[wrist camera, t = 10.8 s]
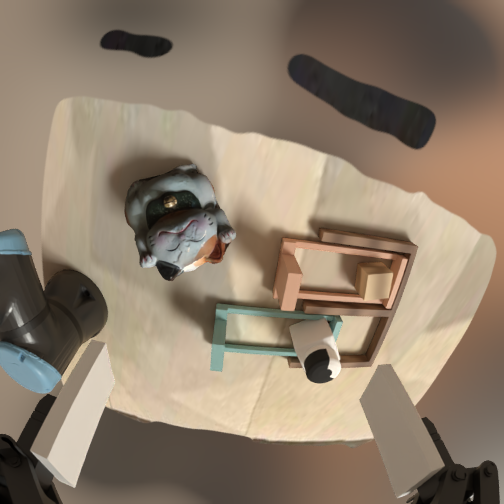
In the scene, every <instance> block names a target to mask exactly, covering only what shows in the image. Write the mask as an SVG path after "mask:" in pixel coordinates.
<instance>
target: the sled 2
mask: <svg viewBox="0 0 504 504" xmlns="http://www.w3.org/2000/svg"><path fill="white" fill-rule="evenodd" d="M295 248H304V249H312V250H321V251H329V252H337V253H345V254H353V255H361V256H369V257H377V258H385V259H393V261H392V265H391V268H390V270H391V271H392V272H393V277H392V283H391V288H390V293H389V298H385V299H377V300H368V301H364V300H363V299H362V297H361V296H360V295H356V294H342V293H328V292H316V291H304V290H299V289H300V284H301V280H302V275H303V274H302V272H301V269H300V267H299V265H298V263H297V261H296V259H295V256H294V253H295ZM407 260H408V259H407V258H406V257H404V256H403V255H402V254H400V253H395V252H388V251H381V250H373V249H366V248H359V247H351V246H344V245H336V244H329V243H321V242H313V241H305V240H297V239H289V238H282V243H281V248H280V254H279V259H278V265H277V271H276V276H275V281H274V287H273V292H272V293H273V298H274V299H278V300H279V304H280V309H281V310H284V311H294V310H295V306H296V302H297V298H301V299H314V300H328V301H344V302H361V303H381V304H383V305H384V307H385V308H391V307H392V304H393V301H394V299H395V296H396V293H397V290H398V288H399V285H400V282H401V279H402V276H403V273H404V270H405V267H406V264H407Z"/></svg>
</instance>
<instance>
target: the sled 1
mask: <svg viewBox="0 0 504 504" xmlns="http://www.w3.org/2000/svg"><path fill="white" fill-rule="evenodd" d="M227 313H234V314H244V315H255V316H267V317H280V318H294V319H310V320H319V319H322V318H326V320H330V323H329V326H330V329H331V331H332V333H333V336H334V339H335V342H336V340H337V337H338V335H339V332H340V329H341V326H342V323H343V321H342V319H341V317H340V315H324V314H307V313H304V311H295V310H294V311H284V310H281V309H269V308H258V307H247V306H237V305H228V304H218V303H217V307H216V317H215V325H214V333H213V340H212V352H211V367H210V370H212V371H221V372H222V368H223V358H224V351H225V352H236V353H248V354H261V355H279V356H297V354H296V352H295V349H290V348H271V347H256V346H243V345H232V344H225V335H226V321H227Z"/></svg>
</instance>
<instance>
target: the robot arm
mask: <svg viewBox="0 0 504 504" xmlns="http://www.w3.org/2000/svg"><path fill="white" fill-rule="evenodd" d="M31 255H32V254H31V252H30V251H29V248H28V245H27V242H26V239H25V236H24V234H23V233H22V232H21V231H20V230H18V229H10V230H6V231H3V232H0V365H1V367H2V368H3V369H4V370H5V371H6V373H7V374H8V375H9V376H10V377H11V378H13V379H14V380H15V381H16V382H18V383H19V384H20V385H22V386H23V387H25V388H27V389H29V390H31V391H34V392H37V393H48V392H50V391H51V390H52V389H53V388H54V386H55V385H56V383H57V382H58V381H60V380H61V377H62V375H63V374H64V372H65V370H66V369H67V367H68V365H69V364H70V362H71V360H72V359H73V357H74V355H75V354H76V352H77V351H78V349H79V347H80V346H81V344H83V343H85V342H86V341H88V340H89V339H90V338H92V337H95V336H96V335H97V334H99V333H100V331H101V330H102V329H103V327H104V326H105V324H106V321H107V317H108V310H107V305H106V302H105V299H104V297H103V295H102V293H101V292H100V290H99V289H98V288H97V286H96V285H95V284H94V283H93V282H92V281H91V280H90V279H89V278H87V277H86V276H84V275H83V274H81V273H79V272H76V271H73V270H63V271H60V272H58V273H57V274H55V275H54V276H53V277H52V278H51V279H50V280H49V281H48V283H47V285H46V287H45V290H44V291H43V288H42V285H41V283H40V280H39V278H38V275H37V272H36V269H35V266H34V263H33V259H32V256H31ZM114 384H115V380H114V376H113V372H112V368H111V364H110V360H109V355H108V351H107V346H106V343H104V342H99V341H95V340H91V342H90V343H89V345H88V347H87V348H86V350H85V351H84V353H83V354H82V356H81V358H80V359H79V361H78V363H77V364H76V366H75V368H74V369H73V371H72V372H71V374H70V376H69V378H68V379H67V381H66V383H65V384H64V386H63V388H62V390H61V391H60V394H59V395H58V397H55V396H52V395H50V394H47V395H46V396H45V397H43V398H42V399H41V400H40V401H39V403H38V404H37V406H36V408H35V411H33V413H32V415H31V418H29V420H28V422H27V424H26V426H25V428H24V429H23V431H22V433H21V435H20V437H19V439H18V441H17V442H15V441H14V440H13V439H12V438H11V437H10V436H8V435H6V434H0V504H63V503H62V501H61V499H60V497H59V495H58V493H57V490H56V488H55V485H54V483H53V482H52V479H53V476H55V477H56V478H57V479H58V480H59V481H60V482H63V483H65V484H67V485H70V486H72V487H74V488H75V486H76V483H77V479H78V477H79V474H80V471H81V468H82V465H83V462H84V459H85V457H86V454H87V451H88V448H89V446H90V443H91V440H92V437H93V435H94V432H95V430H96V427H97V425H98V422H99V419H100V417H101V415H102V412H103V410H104V407H105V405H106V403H107V400H108V398H109V395H110V393H111V391H112V388H113V386H114ZM360 403H361V405H362V408H363V410H364V413H365V415H366V418H367V420H368V423H369V425H370V428H371V431H372V433H373V436H374V438H375V441H376V443H377V446H378V449H379V452H380V454H381V457H382V460H383V462H384V465H385V468H386V471H387V474H388V476H389V479H390V482H391V485H392V488H393V491H394V494H395V496H396V498H399V497H402V496H405V495H408V494H410V493H412V492H413V491H414V490H415V489H417V490H418V493H416V494H415V495H413V496H412V497H411V498H409V499H408V500H407V503H409V502H410V501H412V500H413V499H414V500H413V502H412V503H411V504H500V500H499V480H498V470H497V467H496V465H495V463H493V462H492V461H484V462H483V463H482V464H481V465H480V466H479V467H474V468H465V467H464V466H462V465H460V464H455V463H454V462H453V461H452V459H451V457H450V455H449V453H448V451H447V449H446V447H445V445H444V443H443V441H442V440H441V437H440V435H439V434H438V433H437V430H436V428H435V426H434V424H433V423H432V422H431V421H430V420H429V419H428V418H427V417H425V418H421V417H420V416H419V414H418V412H417V410H416V408H415V406H414V404H413V403H412V401H411V399H410V397H409V395H408V394H407V392H406V390H405V388H404V386H403V385H402V383H401V381H400V379H399V378H398V376H397V374H396V373H395V371H394V369H393V367H392V366H391V364H385V365H378V367H377V369H376V371H375V373H374V375H373V377H372V378H371V380H370V382H369V384H368V386H367V388H366V389H365V391H364V393H363V395H362V396H361V398H360ZM473 495H474V498H473V501H471V500H470V497H472V496H473Z"/></svg>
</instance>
